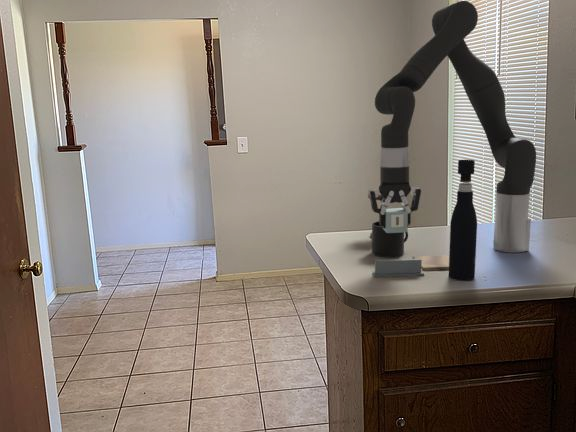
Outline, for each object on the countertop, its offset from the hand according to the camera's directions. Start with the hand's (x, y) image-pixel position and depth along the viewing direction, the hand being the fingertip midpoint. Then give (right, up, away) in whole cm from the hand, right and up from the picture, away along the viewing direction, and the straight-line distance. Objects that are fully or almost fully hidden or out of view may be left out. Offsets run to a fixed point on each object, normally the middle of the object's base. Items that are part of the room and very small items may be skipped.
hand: (394, 226), depth 151 cm
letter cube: (0, -1, 0) cm, 1 cm away
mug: (+2, -8, +17) cm, 19 cm away
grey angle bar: (0, -13, -4) cm, 13 cm away
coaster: (+13, -10, +5) cm, 17 cm away
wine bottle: (+16, -13, -7) cm, 22 cm away
